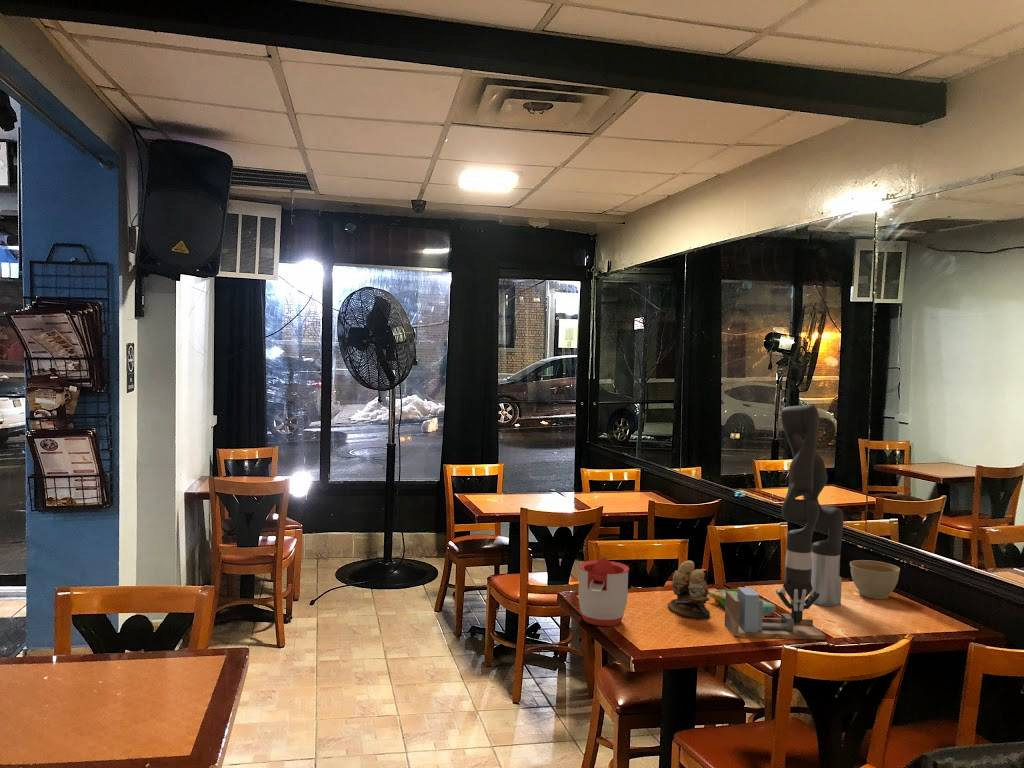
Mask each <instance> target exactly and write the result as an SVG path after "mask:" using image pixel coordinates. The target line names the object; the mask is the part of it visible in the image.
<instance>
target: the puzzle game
mask: <svg viewBox="0 0 1024 768" xmlns="http://www.w3.org/2000/svg"><path fill="white" fill-rule="evenodd" d="M726 591H730V592H731V593H732V594H733V595H734V596H735V597H736V598H737V593H738V588H729V589H728V588H727V589H716V590H708V592H709V593H708V594H707V596H708V597H709V598H712V599H713V600H714V602H715V604H716V605H717V604H718V606H719V605H720V607H721V606H722V608H723V607H724V608H723V609H725V599H726ZM760 599H761V600H762V601H763V612H762V618H764V617H763V616H767V617H770V616H771V615H773V613H774V612H775V611H776V608H777V606H776V605H775V604H774V603H771V602H769V601H766V600H764V599H762V598H760Z"/></svg>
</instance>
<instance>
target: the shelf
mask: <svg viewBox="0 0 1024 768" xmlns="http://www.w3.org/2000/svg"><path fill="white" fill-rule="evenodd" d="M762 623H781V617H780V618H779V617H762ZM724 626H725V628H726V627H727V628H728V629H727V628H726V629H727V630H728V631H729V632H730V633H732V634H733V635H734V636H745V637H744V638H761V637H779V638H778V639H794V638H798V639H799V640H800V639H801V640H803V639H804V640H826V635H825V634H824V633H823V632H822V631H821V630H819V629H818V627H816V626H815V625H814V620H813V619H812V618H811V619H810V618H802V621H800V623H795V622H794V626H793V631H789V630H786V629H762V631H758V632H744V631H743V630H742V628H741V627H740V626H739V600H738V599H737V598H736V597H735V596H734V595H733V594H732V593H731V592H730V591H726V599H725V608H724ZM732 634H731V635H732ZM733 635H732V636H733ZM734 636H733V637H734Z"/></svg>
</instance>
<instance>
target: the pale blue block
mask: <svg viewBox="0 0 1024 768" xmlns="http://www.w3.org/2000/svg"><path fill="white" fill-rule="evenodd" d="M737 589H738V593H737V599H738V600H739V626H740V627H741V628H742V630H743V631H744V632H758V616H759V598H760V594H758V593H757V592H756V591H755V590H754V589H753V588H752V587H741V586H740V587H737Z"/></svg>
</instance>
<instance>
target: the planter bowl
mask: <svg viewBox="0 0 1024 768" xmlns="http://www.w3.org/2000/svg"><path fill="white" fill-rule="evenodd" d="M849 567H850V574H851V579H852V581H853V583H854V586H855V587H856V589H857V590H858V593H859V595H861V596H862V597H864V596H865V598H867V599H871V598H873V599H874V600H886V599H889V596H890V594H891V593H892V592H893V591H894V589H895V588H896V586H897V584H898V581H899V579H900V577H899V576H900V573H901V568H900V567H899V566H897V565H894V564H891V563H887V562H883V561H877V560H869V559H868V560H866V559H865V560H864V559H861V560H860V559H859V560H852V561H850V562H849Z"/></svg>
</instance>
